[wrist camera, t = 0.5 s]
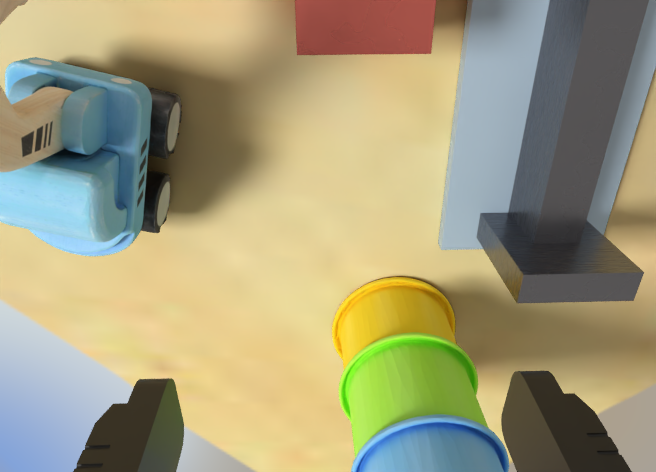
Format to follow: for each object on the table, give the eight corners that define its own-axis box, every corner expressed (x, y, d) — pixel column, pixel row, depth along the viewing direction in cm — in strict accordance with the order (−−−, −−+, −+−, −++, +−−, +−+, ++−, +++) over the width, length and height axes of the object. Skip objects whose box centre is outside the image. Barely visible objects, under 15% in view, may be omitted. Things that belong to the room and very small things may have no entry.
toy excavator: (198, -25, 28) (65, -17, 13) (171, 225, 36) (69, 413, 21) (41, -68, 27) (-308, -114, 12) (48, 201, 34) (-156, 382, 19)
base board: (481, -109, 26) (486, -112, 25) (697, -109, 27) (710, -112, 26) (438, 243, 37) (441, 249, 36) (593, 240, 37) (600, 246, 36)
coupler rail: (530, -89, 26) (611, -111, 19) (658, -89, 26) (786, -110, 19) (476, 237, 36) (517, 303, 29) (570, 235, 36) (633, 300, 29)
